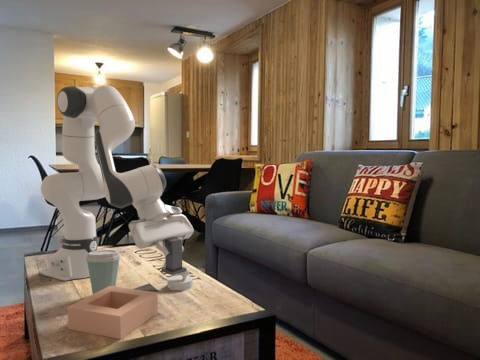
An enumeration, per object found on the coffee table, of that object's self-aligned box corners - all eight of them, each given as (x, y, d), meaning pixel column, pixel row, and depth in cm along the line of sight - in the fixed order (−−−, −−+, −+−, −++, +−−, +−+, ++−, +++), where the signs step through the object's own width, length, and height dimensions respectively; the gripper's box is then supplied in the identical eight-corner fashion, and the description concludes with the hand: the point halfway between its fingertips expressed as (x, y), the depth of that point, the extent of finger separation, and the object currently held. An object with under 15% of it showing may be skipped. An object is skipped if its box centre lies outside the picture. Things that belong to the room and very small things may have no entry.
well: (68, 328, 106) (67, 307, 105) (110, 304, 122) (109, 285, 121) (121, 339, 100) (120, 316, 99) (157, 312, 116) (157, 292, 115)
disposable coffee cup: (86, 292, 132) (84, 248, 130) (120, 288, 136) (118, 245, 135) (88, 304, 122) (86, 256, 121) (124, 298, 126) (122, 252, 125)
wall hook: (168, 255, 142) (195, 256, 140) (169, 281, 143) (195, 282, 141) (159, 262, 134) (187, 263, 132) (159, 289, 134) (187, 291, 132)
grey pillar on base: (161, 271, 121) (160, 239, 120) (175, 267, 125) (175, 236, 124) (172, 275, 118) (171, 242, 117) (186, 271, 121) (186, 239, 121)
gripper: (130, 215, 117) (150, 254, 111) (184, 207, 132) (204, 240, 126) (122, 228, 120) (141, 266, 114) (176, 218, 135) (195, 251, 129)
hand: (175, 252), depth 120 cm, fingers closed on grey pillar on base, 4 cm apart
